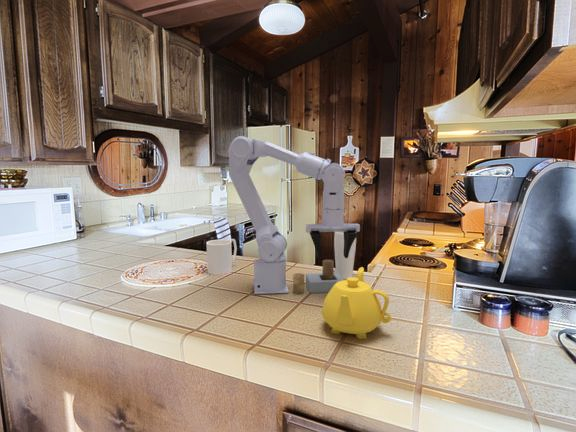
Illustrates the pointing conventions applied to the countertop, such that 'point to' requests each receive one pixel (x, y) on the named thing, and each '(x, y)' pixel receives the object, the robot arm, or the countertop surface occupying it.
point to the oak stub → (298, 283)
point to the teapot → (354, 307)
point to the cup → (220, 256)
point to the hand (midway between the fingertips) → (332, 257)
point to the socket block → (321, 282)
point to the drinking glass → (343, 264)
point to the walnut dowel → (328, 270)
